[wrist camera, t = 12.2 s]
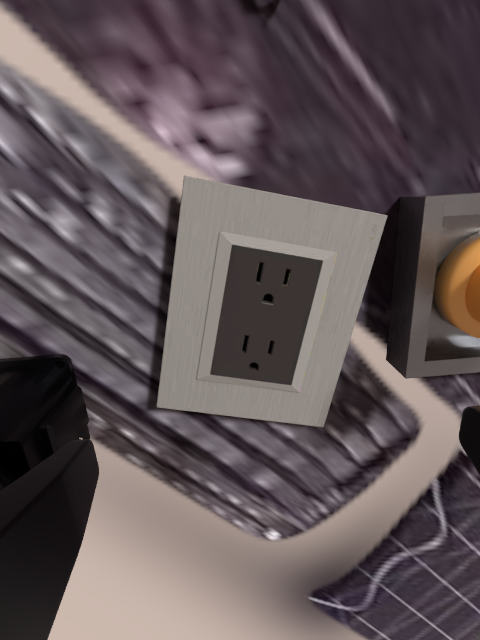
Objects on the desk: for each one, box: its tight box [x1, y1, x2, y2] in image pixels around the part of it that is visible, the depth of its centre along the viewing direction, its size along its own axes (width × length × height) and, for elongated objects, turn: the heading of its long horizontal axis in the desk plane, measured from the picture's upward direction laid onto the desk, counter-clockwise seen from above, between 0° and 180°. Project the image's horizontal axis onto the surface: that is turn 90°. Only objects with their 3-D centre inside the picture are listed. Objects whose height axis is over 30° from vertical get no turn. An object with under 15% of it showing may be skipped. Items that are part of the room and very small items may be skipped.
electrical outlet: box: [157, 176, 388, 427], centre depth 20 cm, size 13×10×2 cm
